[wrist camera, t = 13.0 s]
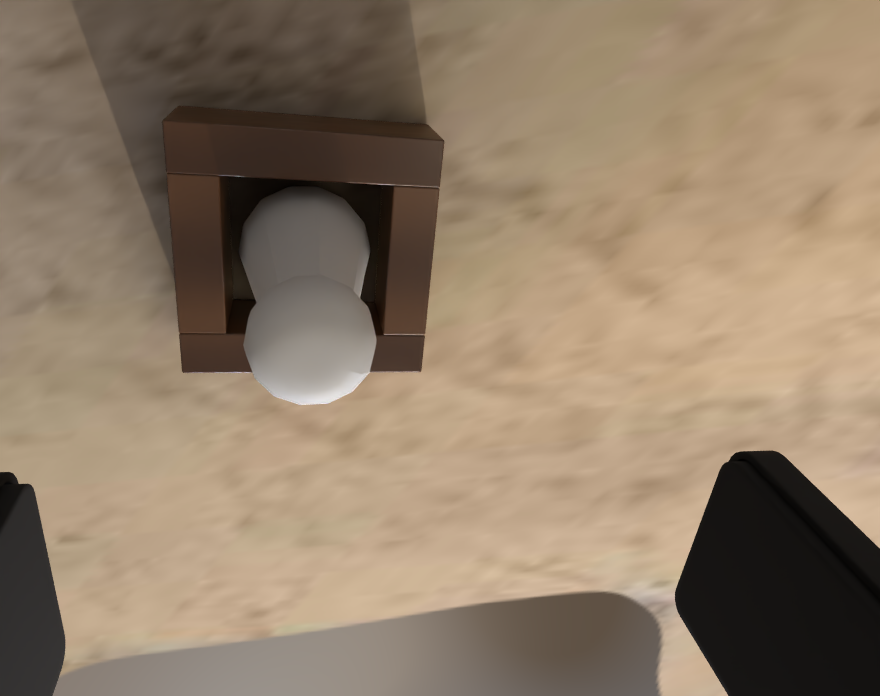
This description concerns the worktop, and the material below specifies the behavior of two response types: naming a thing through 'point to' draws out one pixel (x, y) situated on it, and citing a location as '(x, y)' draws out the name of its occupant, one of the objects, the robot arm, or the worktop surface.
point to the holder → (297, 158)
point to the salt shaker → (307, 295)
